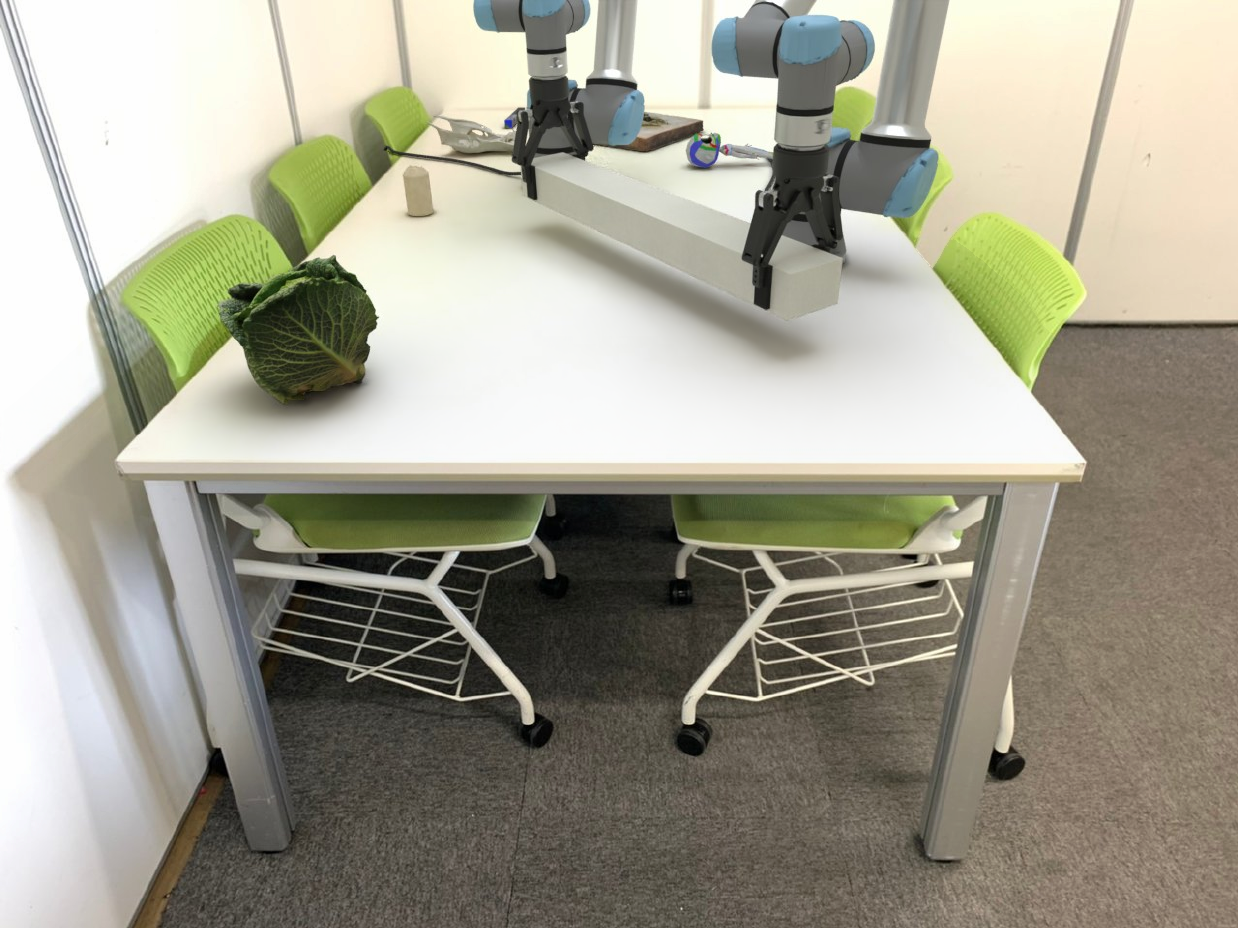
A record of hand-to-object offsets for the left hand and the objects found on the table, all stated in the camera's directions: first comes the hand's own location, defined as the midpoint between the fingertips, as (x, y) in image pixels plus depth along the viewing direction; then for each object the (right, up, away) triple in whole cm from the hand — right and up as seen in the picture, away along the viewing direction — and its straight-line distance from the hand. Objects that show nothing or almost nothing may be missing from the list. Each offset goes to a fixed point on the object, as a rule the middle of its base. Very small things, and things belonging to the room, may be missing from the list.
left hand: (555, 193), depth 182 cm
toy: (+45, +21, +47) cm, 69 cm away
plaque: (+17, +40, +77) cm, 88 cm away
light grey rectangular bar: (+19, -16, -24) cm, 35 cm away
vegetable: (-31, -44, -54) cm, 76 cm away
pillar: (-19, +51, +96) cm, 110 cm away
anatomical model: (-26, +31, +64) cm, 75 cm away
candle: (-31, 0, +16) cm, 35 cm away
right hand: (+38, -30, -49) cm, 69 cm away
